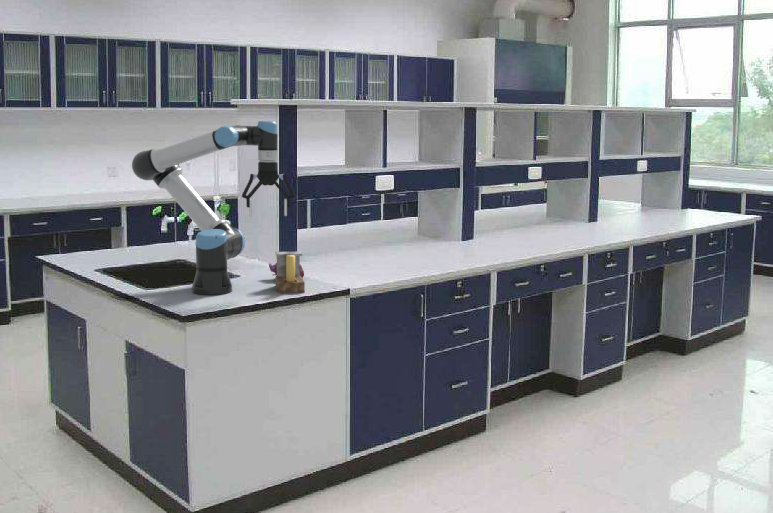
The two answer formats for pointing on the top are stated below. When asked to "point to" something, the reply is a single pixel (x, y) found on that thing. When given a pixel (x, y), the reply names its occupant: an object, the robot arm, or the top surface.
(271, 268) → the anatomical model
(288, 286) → the peg socket stand
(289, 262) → the peg
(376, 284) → the top surface
